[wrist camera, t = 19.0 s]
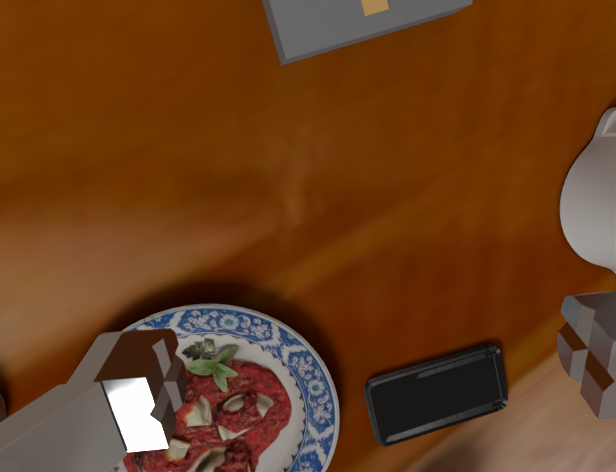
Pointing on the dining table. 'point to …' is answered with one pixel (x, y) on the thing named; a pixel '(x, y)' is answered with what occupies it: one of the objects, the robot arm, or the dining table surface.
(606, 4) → the dining table surface
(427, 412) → the phone
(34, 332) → the dining table surface
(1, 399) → the bread
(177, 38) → the dining table surface
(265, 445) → the ceramic plate
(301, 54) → the block
